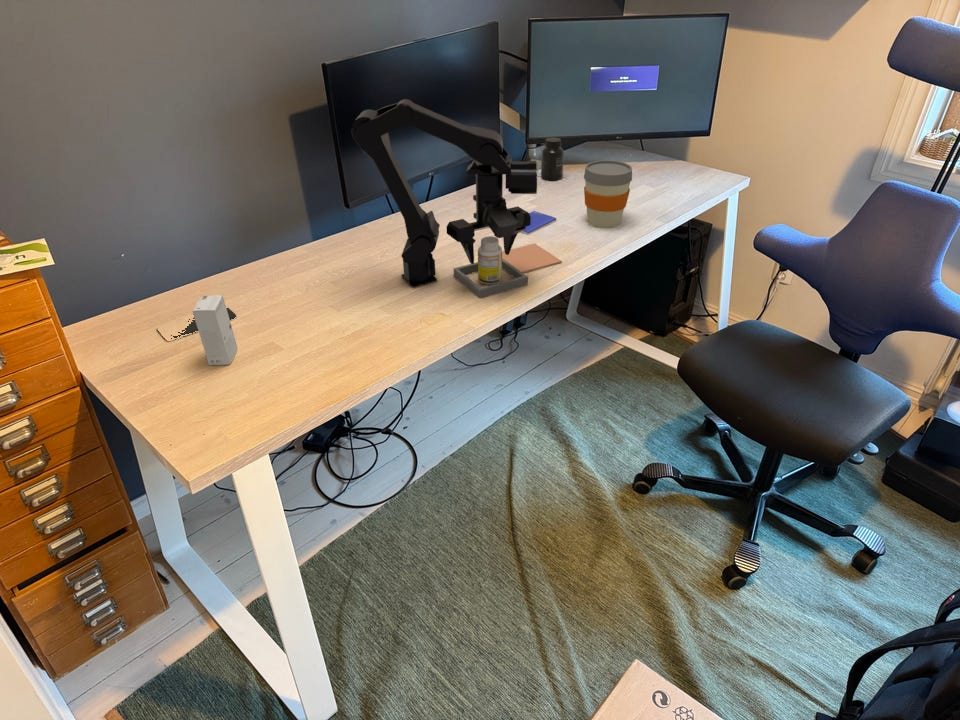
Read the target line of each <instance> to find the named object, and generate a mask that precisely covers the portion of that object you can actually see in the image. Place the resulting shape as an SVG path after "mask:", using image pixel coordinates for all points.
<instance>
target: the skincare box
mask: <svg viewBox="0 0 960 720" xmlns="http://www.w3.org/2000/svg"><path fill="white" fill-rule="evenodd" d="M226 306H227V305H226V302H225V299H224V296H223V295H221V294H220V295H219V294H217V295H203V296H201V298H199V300H198V301H197V302H196V304H195V307H194V308H193V309H192V314H193V315H194V318H195V322H196V325H197V328H198V331H199V332H198V334H199V337H200V341H201V343H202V347H203V350H204V353H205V357H206V360H207V364H208V365H209V366H227V365H230V364H232V361H233V360H234V358H235V356H236V354H237V352H238V345H237V341H236V337H235V334H234V330H233V327H232V323H231V321H230V319H229V316H228V312H227V309H226Z"/></svg>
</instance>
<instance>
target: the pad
mask: <svg viewBox="0 0 960 720" xmlns="http://www.w3.org/2000/svg"><path fill="white" fill-rule="evenodd" d="M502 258H503V259H504V260H505V261H507V262H508V263H510V264H511V265H512V266H514V267H515V268H516V269H518V270H519V271H521V272H522V273H523V274H526V273H529V272H534V271H538V270H541V269H544V268H548V267H551V266H556V265H559V264H562V262H563V261H562V260H561V259H560V258H558V257H557V256H555V255H554V254H552V253H550V252H549V251H547V250H546V249H545V248H543V247H541V246H539V245H538V244H537V243H530V244H526V245H522V246H519V247H515V248H511V250H510V253H509V255H506V254H505V251H504V250H502Z"/></svg>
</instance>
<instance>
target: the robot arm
mask: <svg viewBox="0 0 960 720" xmlns="http://www.w3.org/2000/svg"><path fill="white" fill-rule="evenodd" d="M404 125H408V126H409V127H412V128H414V129H416V130H419V131H421V132H424V133H426V134H428V135H431V136H433V137H435V138H438V139H440V140H442V141H444V142H447V143H449V144H451V145H454V146H456V147H458V148H459V149H461V150H462V151H463V152H464V153H465V154H466V155H467V156H469V157H470V158H471V159H472V162H471V163H470V164H469V165H468V166H467V169H466V174H467V175H475V194H473V196H472V199H473V201H474V202H475V211H476V212H473V218H474V219H475V220H476V221H474V222H469V221H467V220H465V219H464V218H459V219H456V220H452V221H449V222H448V223H447V225H446V234H447V235H448V236H450V237H451V238H452V239H453V240H454V241H456V242H457V243H460V245H461V246H462V248H463V250H464V252H465V254H466V257H467V259H468V261H469V264H474V263H475V252H474V251H475V250H474V244H475V242H476V239H475V238H474V237H475V236H476V235H475V232H477V231H482V230H486V229H490V230H491V232H492V234H493V235H494V237H496V238H498V239H503V240H502V241H503V251H505V254H506V255H509V253H510V250H511V249H513V248H512V247H513V245H514V242H515V240H516V237H517V236H518V234H520V232H521V231H522V230H525V229H526V226H530V225H531V216H530V214H529V213H530V212H529V211H527V210H525V209H524V208H521V206H518V205H517V206H513V207H509V208H508V206H507V201H506V198H504V197H503V184H504V183H503V181H504V180H503V177H504V176H503V175H505V189H506V190H507V191H508V193H510V194H511V195H519V194H521V195H537V194H538V193H537V192H538V190H537V189H538V172H537V169H538V167H537V166H538V164H537V163H538V161H537V160H527V161H517V160H516V161H513V160H512V157H511V155H510V154H509V152H508V151H507V150H506V148H505V147H504V141H503V138H502V136H501V134H500V133H499V132H497V131H496V130H493V129H489V128H484V127H481V126H469V125H466V124H464V123H463V124H462V123H460V122H458V121H456V120H453V119H451V118H449V117H447V116H444V115H442V114H439V113H437V112H434V111H433V110H430V109H427V108H425V107H423V106H421V105H419V104H417V103H414V102H413V101H412V100H411V99H407V98H404V99H401V100H400V101H399V102H396V103H393V104H389V105H386V106H383V107H381V108H379V109H377V110H374V109H365V110H363V111H362V112H361V113H360V114H358V116H356V118H355V120H354V121H353V122H352V125H351V128H350V131H351V136H352V138H353V139H354V141H355V142H356V144H357V145H358V146H359V148H360V150H361V151H363V153H364V154H366V156H368V157H369V158H370V159H371V160H372V161H373V162H374V165H375V166H376V168H377V170H378V172H379V173H380V175H381V178H382V179H383V181H384V184H385V186H386V187H387V189H388V191H389V192H390V194H391V197H392V198H393V201H394V202H395V205H396V207H397V208H398V210H399V211H400V214H401V215H402V217H403V221H404V225H405V230H406V235H407V239H406V242H405V243H404V247H403V250H402V253H401V257H402V264H403V265H402V267H403V274H401V278H402V279H403V280H404V282H406V283H407V284H408V285H409V286H410V287H411V288H416V287H420V286H423V285H427V284H431V283H434V282H438V278H437V277H436V259H434V256H433V255H434V254H433V252H434V251H435V249H436V247H437V242H438V239H439V235H440V224H439V222H438V221H437V220H436V217H435V214H434V212H433V210H430V211H428V212H426V211H425V210H424V209H423V208H422V207H421V206H420V203H419V201H418V199H417V198H416V195H415V194H414V191H413V190H412V188H411V186H410V183H409V182H408V180H407V178H406V176H405V174H404V171H403V170H402V168H401V166H400V163H399V162H398V160H397V158H396V156H395V154H394V152H393V150H392V147H391V141H390V135H389V133H390V132H392V131H394V130H396V129H397V128H398V127H401V126H404Z"/></svg>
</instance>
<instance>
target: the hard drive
mask: <svg viewBox="0 0 960 720" xmlns="http://www.w3.org/2000/svg"><path fill="white" fill-rule="evenodd" d="M528 213H529V214H530V216H531V225H530V226H526V229H525V230H522V231H521V232H519V234H524V235H526V236H529V235H531V234H534V233H535V232H537V231H540V230H541V229H542V230H543V228H545V227H548V226H549V225H552V224H553V223H555V222H556V223H557V218H556V217H554V216H551V215H548V214H545V213H542V212H539V211H536V210H532V211H531V212H528Z"/></svg>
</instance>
